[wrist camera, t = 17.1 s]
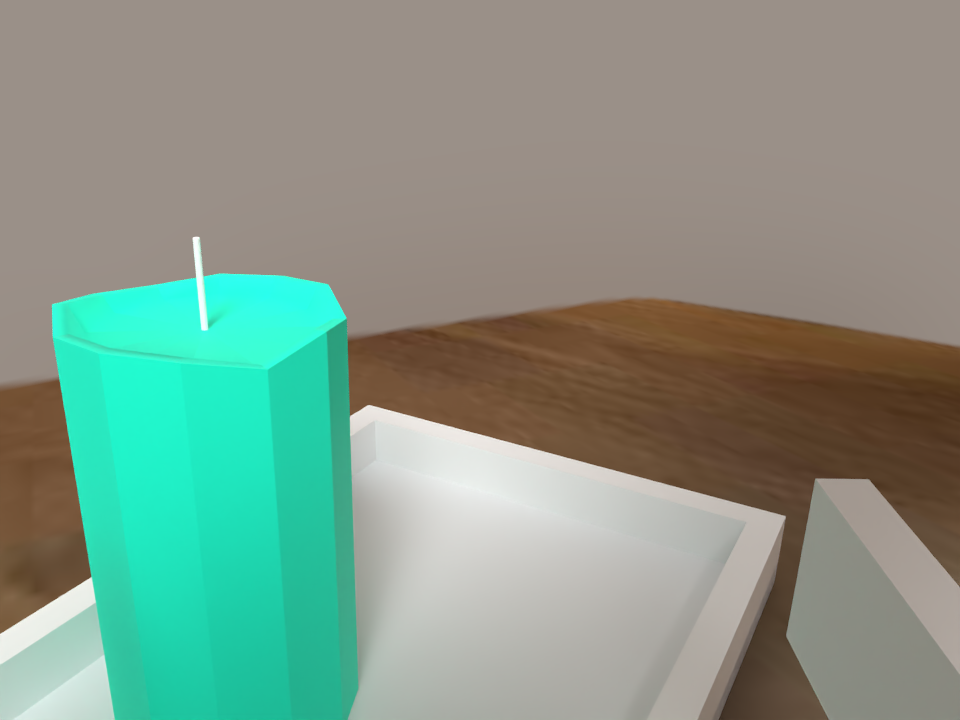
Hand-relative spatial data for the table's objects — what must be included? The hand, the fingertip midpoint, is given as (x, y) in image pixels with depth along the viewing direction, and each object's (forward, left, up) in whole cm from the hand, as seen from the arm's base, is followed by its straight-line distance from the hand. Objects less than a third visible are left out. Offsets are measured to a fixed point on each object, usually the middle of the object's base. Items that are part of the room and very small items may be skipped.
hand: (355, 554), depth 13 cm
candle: (-4, -7, -9) cm, 13 cm away
